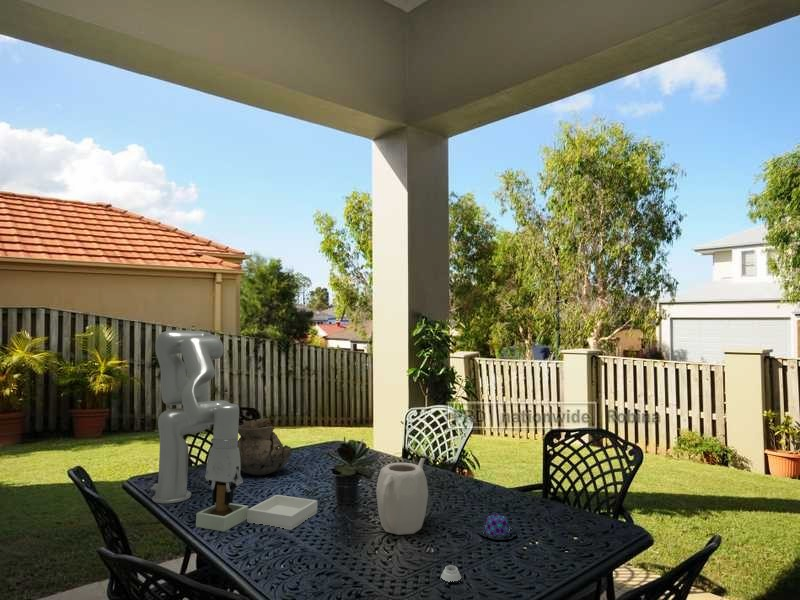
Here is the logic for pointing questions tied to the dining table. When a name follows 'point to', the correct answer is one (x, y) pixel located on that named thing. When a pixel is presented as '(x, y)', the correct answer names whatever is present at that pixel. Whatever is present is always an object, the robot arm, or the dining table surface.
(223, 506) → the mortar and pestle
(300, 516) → the tray
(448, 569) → the white jar
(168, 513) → the dining table surface
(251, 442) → the clay pot
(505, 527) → the purple patterned dome
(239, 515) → the box
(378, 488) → the watering can
